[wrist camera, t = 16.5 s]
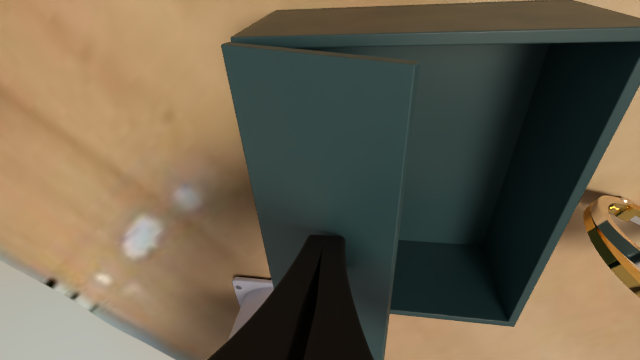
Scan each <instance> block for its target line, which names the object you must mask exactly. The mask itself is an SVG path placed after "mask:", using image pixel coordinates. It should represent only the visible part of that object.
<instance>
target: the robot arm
mask: <svg viewBox="0 0 640 360" xmlns="http://www.w3.org/2000/svg"><path fill="white" fill-rule="evenodd" d="M232 284H233V287H234V290H235V293H236V296H237V299H238V302H239V305H240V311H239V313H238V316H237V318H236V321H235V323H234V326H233V328H232V331H231V334H230V336H229V339H228V341H227V342H226V343H225V344H224V345H223V346H222V347H221V348H220V349H219V350H217V351H216V352H215V353H214V354H213V355H212V356H211V357H210V358H209V359H207V360H374V358H373V356H372V354H371V351H370V349H369V346H368V343H367V341H366V338H365V335H364V333H363V330H362V327H361V324H360V321H359V318H358V314H357V311H356V308H355V304H354V301H353V297H352V293H351V289H350V284H349V280H348V275H347V269H346V253H345V238H343V237H342V236H327V235H313V234H310V235H309V236H308V237H307V239H306V241H305V243H304V245H303V247H302V248H301V250H300V252H299V254H298V255H297V257H296V258H295V260H294V262H293V263H292V265H291V266H290V268H289V269H288V271H287V272H286V274H285V275H284V276H283V278H282V279H281V281H280V282H279V283H278V285H277V286H276V287H275V289H273V284H272V280H266V279H255V278H245V277H235V278H234V279H233V281H232Z"/></svg>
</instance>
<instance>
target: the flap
mask: <svg viewBox="0 0 640 360" xmlns="http://www.w3.org/2000/svg"><path fill="white" fill-rule="evenodd" d="M221 48H222V52H223V57H224V62H225V66H226V71H227V76H228V80H229V85H230V89H231V94H232V99H233V103H234V108H235V113H236V117H237V122H238V127H239V131H240V136H241V140H242V145H243V150H244V154H245V159H246V164H247V168H248V173H249V177H250V182H251V187H252V191H253V196H254V201H255V205H256V210H257V214H258V219H259V224H260V228H261V233H262V238H263V242H264V247H265V251H266V256H267V261H268V265H269V270H270V275H271V279H272V284H273V289H275V287H276V286H277V285H278V283H279V282H280V281H281V279H282V278H283V276H284V275H285V274H286V272H287V271H288V269H289V268H290V266H291V265H292V263H293V262H294V260H295V258H296V257H297V255H298V254H299V252H300V250H301V248H302V247H303V245H304V243H305V241H306V239H307V237H308V236H309V235H310V234H313V235H327V236H342V237H343V238H345V253H346V269H347V275H348V280H349V284H350V289H351V293H352V297H353V301H354V304H355V308H356V311H357V314H358V318H359V321H360V324H361V327H362V330H363V333H364V335H365V338H366V341H367V343H368V346H369V349H370V351H371V354H372V356H373V358H374V360H384V356H385V347H386V339H387V331H388V323H389V314H390V306H391V298H392V290H393V281H394V273H395V265H396V257H397V248H398V240H399V232H400V224H401V215H402V207H403V199H404V191H405V182H406V174H407V166H408V158H409V149H410V141H411V133H412V125H413V116H414V108H415V100H416V92H417V83H418V75H419V67H420V61H416V60H406V59H396V58H385V57H375V56H365V55H355V54H345V53H335V52H324V51H314V50H304V49H294V48H284V47H274V46H263V45H253V44H243V43H233V42H228V43H225V44H222V45H221Z"/></svg>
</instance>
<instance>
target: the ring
mask: <svg viewBox="0 0 640 360" xmlns="http://www.w3.org/2000/svg"><path fill="white" fill-rule="evenodd" d="M609 213H611V214H614V215H615V216H616V217H618V218H620V219H621V220H624V221H627V222H628V221H629V220H630V221H632V222H635V223H637V224H639V225H640V206H637V205H635V204H634V202H632V201H631V200H629V199H627V198H624V197H621V198H617V197H614V196H601V197H600V198H598V199H597V200H596V201H594V202H592V203H591V204H590V205H589V206H588V207H586V209H585V210H584V214H583V219H584V224H585V227H586V230H587V233H588V235H589V237H590V239H591V241H592V243H593V245H594V247H595V248H596V250H597V251H598V253H599V254H600V256H601V257H602V259H603V260H604V261H605V263H606V264H607V265H608V266H609V268H610V269H611V270H612V271H613V272H614V273H615V275H616V276H617V277H618V278H619V279H620V280H621V281H622V282H623V283H624V284H625V285H626V286H627V287H628V288H629V289H630V290H631V291H633V292H634V293H635V294H636V295H637V296H638V297H639V298H640V272H639V271H638V270H637V269H636V268H635V267H634V266H633V265H632V264H631V263H630V262H629V261H628V260H627V259H626V258H625V257H624V255H625V256H626V257H627V258H628V259H629V260H631V261H632V262H633V263H634V264H636V265H637V266H638V267H640V247H638V246H637V245H636V244H635V243H633V242H632V241H631V240H630V239H629V238H628V237H627V236H626V235H625V234H624V233H623V232H622V231H621V230H620V229H619V228H618V227H617V226H616V224H615V223H614V222H613V220H612V219H611V217H610V215H609Z"/></svg>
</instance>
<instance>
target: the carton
mask: <svg viewBox="0 0 640 360" xmlns="http://www.w3.org/2000/svg"><path fill="white" fill-rule="evenodd" d="M231 42H233V43H243V44H253V45H263V46H274V47H284V48H294V49H304V50H314V51H324V52H335V53H345V54H355V55H365V56H375V57H385V58H396V59H406V60H416V61H420V67H419V75H418V83H417V92H416V100H415V108H414V116H413V125H412V133H411V141H410V149H409V158H408V166H407V174H406V182H405V191H404V199H403V207H402V215H401V224H400V232H399V240H398V248H397V257H396V265H395V273H394V281H393V290H392V298H391V306H390V314H397V315H407V316H416V317H426V318H435V319H445V320H454V321H464V322H473V323H483V324H492V325H502V326H511V327H514V326H515V324H516V322H517V320H518V318H519V316H520V314H521V312H522V310H523V308H524V306H525V304H526V302H527V301H528V299H529V297H530V295H531V293H532V291H533V289H534V287H535V285H536V283H537V281H538V279H539V278H540V276H541V274H542V272H543V270H544V268H545V266H546V264H547V262H548V260H549V258H550V256H551V254H552V253H553V251H554V249H555V247H556V245H557V243H558V241H559V239H560V237H561V235H562V233H563V231H564V230H565V228H566V226H567V224H568V222H569V220H570V218H571V216H572V214H573V212H574V210H575V208H576V207H577V205H578V203H579V201H580V199H581V197H582V195H583V193H584V191H585V189H586V187H587V185H588V183H589V182H590V180H591V178H592V176H593V174H594V172H595V170H596V168H597V166H598V164H599V162H600V160H601V159H602V157H603V155H604V153H605V151H606V149H607V147H608V145H609V143H610V141H611V139H612V137H613V135H614V134H615V132H616V130H617V128H618V126H619V124H620V122H621V120H622V118H623V116H624V114H625V112H626V111H627V109H628V107H629V105H630V103H631V101H632V99H633V97H634V95H635V93H636V91H637V89H638V87H639V86H640V18H637V17H634V16H630V15H626V14H623V13H619V12H615V11H611V10H608V9H604V8H600V7H596V6H593V5H589V4H585V3H582V2H578V1H574V0H535V1H509V2H482V3H455V4H429V5H402V6H376V7H349V8H323V9H296V10H276V11H274V12H273V13H271V14H269V15H267V16H266V17H264V18H262V19H261V20H259V21H257V22H256V23H254V24H252V25H251V26H249V27H247V28H246V29H244V30H242V31H240V32H239V33H237V34H235V35H234V36H232V37H231Z"/></svg>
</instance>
